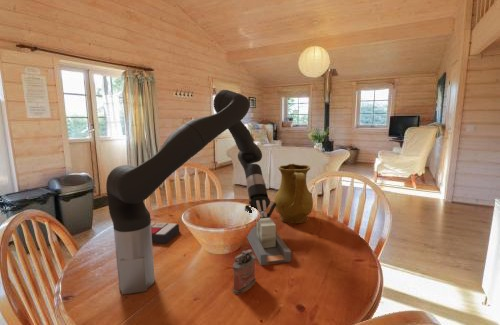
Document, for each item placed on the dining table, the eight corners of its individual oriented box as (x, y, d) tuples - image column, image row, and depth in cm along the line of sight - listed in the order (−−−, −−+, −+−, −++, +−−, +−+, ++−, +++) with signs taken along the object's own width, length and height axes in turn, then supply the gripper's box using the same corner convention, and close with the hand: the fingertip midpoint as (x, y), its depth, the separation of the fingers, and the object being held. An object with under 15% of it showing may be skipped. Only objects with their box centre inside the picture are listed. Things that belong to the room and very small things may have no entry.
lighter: (249, 277, 78) (248, 244, 77) (258, 281, 76) (258, 248, 75) (229, 290, 72) (229, 256, 71) (239, 296, 70) (239, 260, 68)
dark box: (145, 221, 112) (178, 222, 109) (146, 231, 113) (179, 232, 110) (128, 232, 102) (164, 233, 98) (130, 243, 102) (166, 244, 99)
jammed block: (275, 246, 94) (275, 225, 92) (261, 248, 93) (261, 226, 91) (269, 238, 100) (269, 217, 99) (256, 239, 99) (256, 218, 98)
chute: (290, 261, 87) (291, 251, 86) (260, 265, 84) (260, 255, 84) (266, 227, 113) (266, 219, 113) (243, 229, 111) (243, 221, 111)
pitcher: (316, 213, 127) (316, 162, 122) (307, 230, 111) (306, 171, 106) (281, 209, 135) (280, 160, 130) (268, 225, 118) (266, 169, 113)
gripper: (270, 191, 114) (279, 230, 104) (239, 193, 111) (246, 233, 101) (274, 182, 108) (284, 222, 98) (241, 184, 105) (249, 225, 95)
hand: (264, 228), depth 100 cm, fingers closed
